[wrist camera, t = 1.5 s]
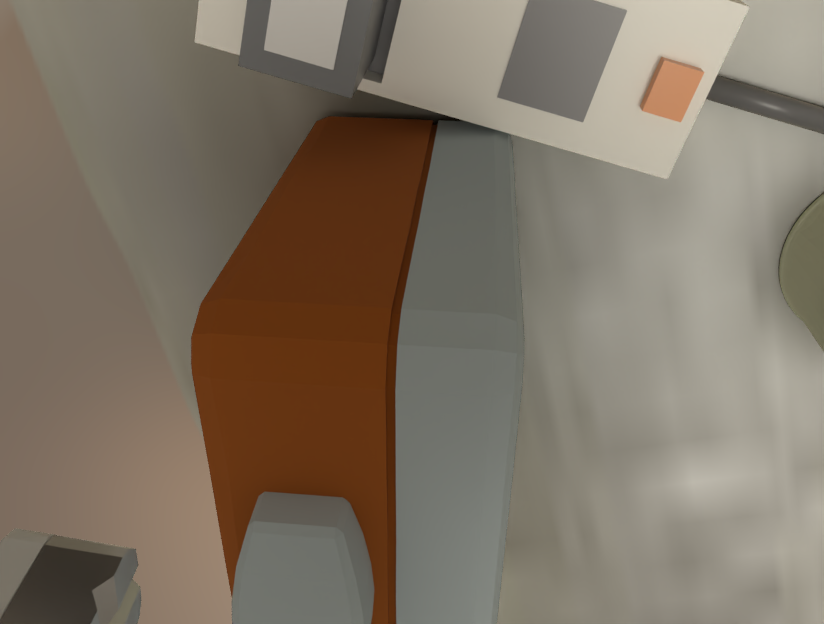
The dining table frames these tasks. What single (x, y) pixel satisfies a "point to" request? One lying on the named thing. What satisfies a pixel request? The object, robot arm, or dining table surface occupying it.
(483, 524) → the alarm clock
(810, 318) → the can
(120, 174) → the dining table surface
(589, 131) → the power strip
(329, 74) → the block
